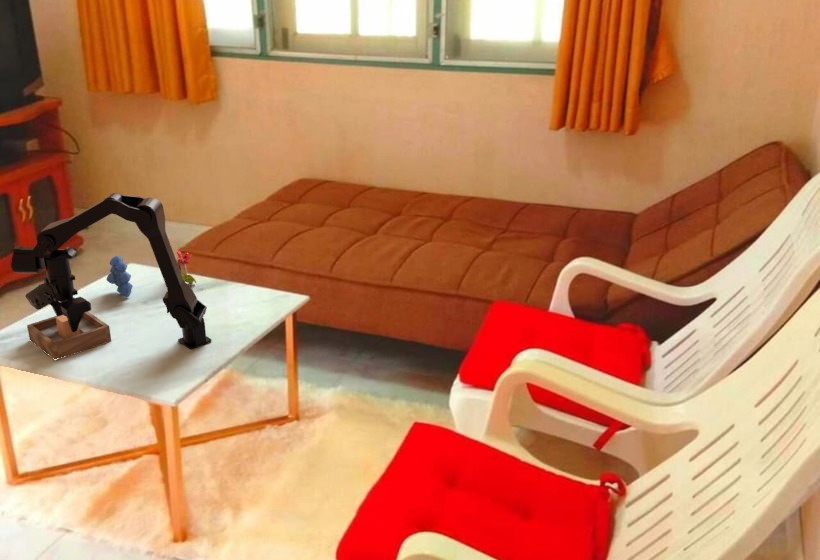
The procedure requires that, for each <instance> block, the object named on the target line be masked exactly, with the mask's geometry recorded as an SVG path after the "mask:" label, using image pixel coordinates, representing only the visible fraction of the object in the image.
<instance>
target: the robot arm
mask: <svg viewBox="0 0 820 560" xmlns="http://www.w3.org/2000/svg"><path fill="white" fill-rule="evenodd" d="M164 210H165V209H164V204H163V203H162V202H161V201H160V200H159V199H157V198H154V197H143V196H136V195H124V194H121V193H117V192H114V193H113V192H112V193H110V194H108V195H107V196H106V197H105V198H103V199H101V200H100V201H98V202H95V204H92V205H90V206H89V207H87V208H85V209H84V210H81V212H78V213H76V214H75V215H73V216H71V217H69V218H65V219H60V220H57V221H54V222H50V223H49V224H48V225H46V226H45V227H44V228H42V230H41V231H40V232H39V233H38V234H37V235H36V242H37V243H36V244H35V246H21V245H17V246H15V247H14V248H12V257H11V262H10V267H11V270H12V272H13V273H14V274H40V273H41V272H42V271H43V270H45V272H46V276H44V278H43V283H40V284H38V286H36V287H34V288H33V289H32V290H31V291H28V292H27V293H26V294H24V295H25V296H24V297H25V298H26V300H27V301H28V303H29V304H30V306H32V307H33V308H34V309H35V310H36V311H37V310H41V309H43V308H44V307H46V306H48V305H50V306H51V307H52V309H53V312H54V314H55V316H57V317H58V316H61V315H64V316H66V317H67V319H68V322H69V325H70V328H71V330H72V332H75V331H77V329H78V326H79V323H80V321H81V318H82V316H83V314H84V313H85V312H90V311H91V310H92V303H91V302H90V301H89V300H87V299H86V298H85V297H83V296H78V297H74V296H76V295H78V294H79V292H78V290H77V289H75V287H74V285H75V284H74V281H75V280H76V275H74V274H72V270H71V269H72V268H71V263H70V259H73V258H74V257H75V256H76V254H78V251H77V250H75V249H73V248H71V247H70V246H66V247H65V248H63V249H61V247H62V246H64V245H65V244H66V243H67V242H68V241H70V239H71V238H73V237H74V236H75V235H76V234H77V233H79V232H82V231H83V230H85V229H86V228H88V227H90V226H92V225H94V224H96V223H97V222H99V221H101V220H102V219H104V218H107V217H108V216H110V215H115V216H118V217H120V218H121V219H123V220H125V221H127V222H132V223H134V224H135V225H136V226H137V228H138V229H139V232H141V233H142V234H143V236H145V238H146V239H147V240H148V242H149V244H150V247H151V250H152V253H153V255H154V257H155V260H156V263H157V266H158V268H159V270H160V273H161V276H162V279H163V282H164V284H165V285H166V290H167V291H166V292H165V294H164V295H163V297H162V302H163V303H164V306H165V307H166V313H167V314H170V316H171V318H173V319H175V321H176V322H177V324H178V326H179V328H181V332H182V337H180V338H178V339H177V342H179V343H181V344H182V345H183V346H185V347H187V348H188V349H189V350H194V349H196V348H199V347H201V346H203V345H206V344H208V343H211V342H212V338H210V337H209V336H207V333H206V322H205V318H204V315H205V314H206V311H207V306H206V305H205V304H204V303H203V302H201V301H200V300H198V298H197V296H196V294H195V292H194V290H193V288H192V287H191V286H190V285H189V283H188V282H185V281H184V280H183V277H182V274H181V272H180V269H179V266H178V264H177V261H176V260H177V259H176V256H175V253H174V251H173V247H172V245H171V243H170V240H169V238H168V235H167V232H166V216H165V211H164Z"/></svg>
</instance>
